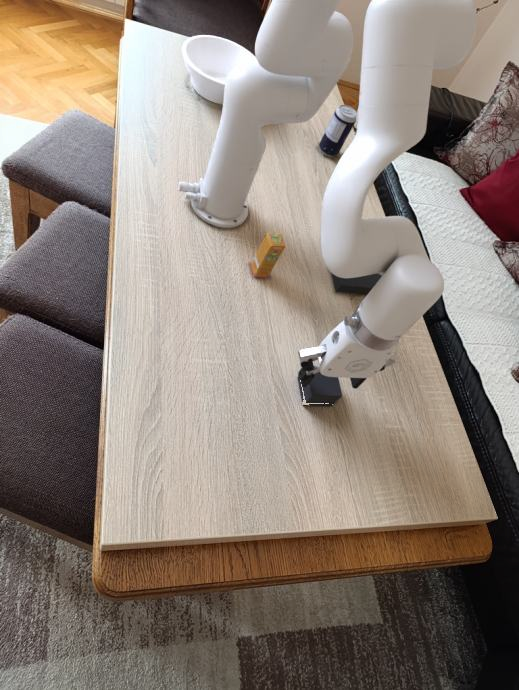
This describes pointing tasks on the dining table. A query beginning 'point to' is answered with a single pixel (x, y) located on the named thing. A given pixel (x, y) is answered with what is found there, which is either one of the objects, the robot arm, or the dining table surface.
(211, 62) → the bowl
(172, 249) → the dining table surface
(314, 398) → the black square block
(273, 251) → the supplement box
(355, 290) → the socket pad
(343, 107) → the beverage can
